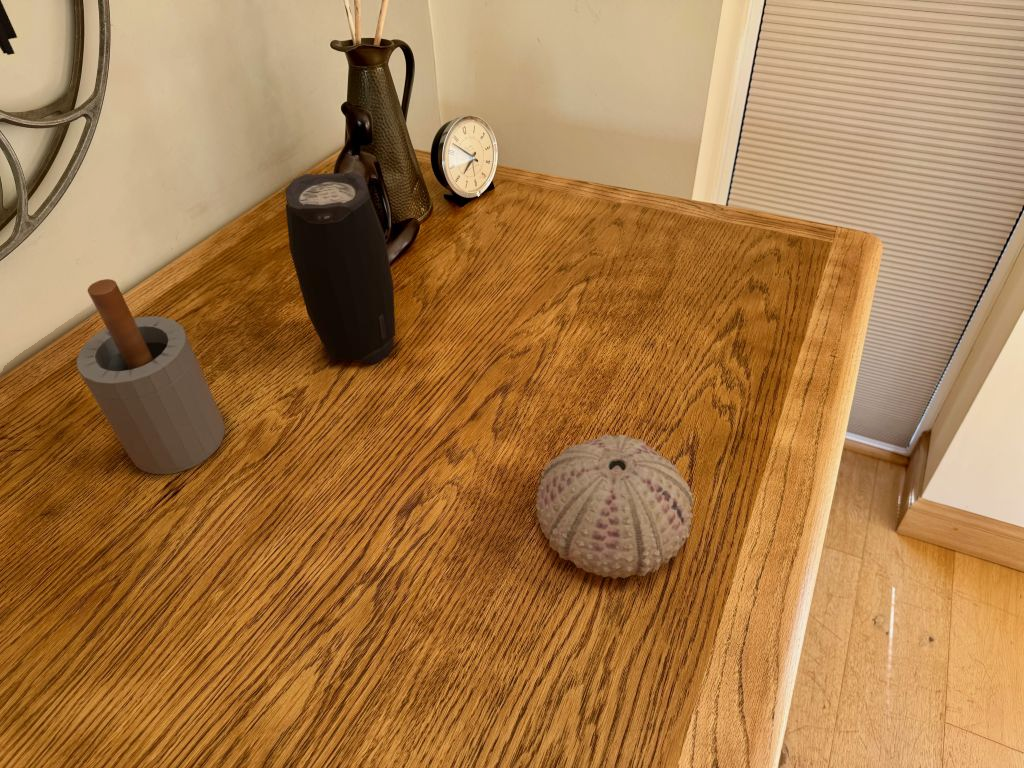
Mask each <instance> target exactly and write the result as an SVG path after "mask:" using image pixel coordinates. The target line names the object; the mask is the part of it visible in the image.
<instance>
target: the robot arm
mask: <svg viewBox="0 0 1024 768" xmlns="http://www.w3.org/2000/svg"><path fill="white" fill-rule="evenodd" d="M4 6H5V5H4V4H3V1H2V0H0V50H1V51H2V53H3V54H4V55H5V54H6V55H7V56H10V55H14V54H16V53H15V51H14V49H13V47H12V43H11V42H10V40H13V39H17V38H18V36H17V33H16V30H15V28H14V27H13V24H12V22H11V19H10V17H9V15H8V13H7V11H6V9H5V7H4Z"/></svg>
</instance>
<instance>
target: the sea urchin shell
mask: <svg viewBox="0 0 1024 768" xmlns="http://www.w3.org/2000/svg"><path fill="white" fill-rule="evenodd" d="M543 469H544V470H543V471H541V472H540V474H541V479H540V484H539V485H538V488H537V489H538V492H537V493H536V494H535V496H536V497H537V498H536V499H535V503H536V504H535V506H534V507H535V509H536V510H537V512H536V517H537V518H538V519H537V520H538V522H539V524H540V525H539V527H540V529H541V533H543V534H544V537H545V538H546V539H548V540H549V547H550V548H552V551H555V552H557V553H558V555H559V559H563V560H566V561H571V562H572V563H573V564H574V565H575V567H576V568H577V569H582V570H583V571H584V572H586V573H593V574H594V575H596V576H598V577H599V576H602V577H604V578H607V577H610V578H612V579H613V580H616V579H618V578H622V579H625V578H628V577H630V576H638V577H645V576H646V575H647V574H648V573H651V574H653V573H655V572H656V571H658V570H659V568H660V567H661V565H662V564H668V563H669V561H670V559H671V558H674V557H677V555H678V553H679V550H680V548H682V547H683V546H684V544H685V543H686V540H687V539H688V538H689V537H690V535H689V532H690V531H691V530H692V529H691V525H692V518H693V514H692V512H691V511H692V509H693V504H694V503H695V499H694V497H693V495H694V493H693V492H691V491H690V490H691V487H690V485H689V483H688V482H687V481H685V478H684V477H683V476H681V474H680V470H679V469H677V468H676V465H675V464H672V462H671V460H669V459H667V458H665V457H664V456H663V455H662V454H661V453H659V452H658V451H656V450H655V449H653V448H652V447H651V446H649V445H648V444H647V443H645V442H644V440H643V438H642V439H640V438H637V439H635V438H633V437H631V436H629V435H625V434H614V435H610V434H607V433H605V434H602V435H601V436H599V437H595V438H592V439H588V440H586V441H583V442H580V443H578V444H573V445H569V446H568V448H564V450H563V452H561V454H559V455H558V456H556V457H554V458H552V459H551V460H550V461H548V462H547V463H546V466H545V467H544V468H543Z"/></svg>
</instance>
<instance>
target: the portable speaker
mask: <svg viewBox="0 0 1024 768" xmlns="http://www.w3.org/2000/svg"><path fill="white" fill-rule="evenodd" d="M369 190H370V189H369V184H368V183H367V181H366V179H365V177H364V176H363V175H361V174H359V173H357V172H355V171H349V172H341V173H338V172H337V173H336V172H335V173H320V174H318V173H317V174H311V173H309V174H308V173H305V174H303V175H301V176H298V177H296V178H294V179H292V180H291V182H290V183H289V184H288V185H287V187H285V199H286V203H285V212H286V222H287V233H288V245H289V251H290V256H291V259H292V262H293V266H294V270H295V273H296V277H297V281H298V283H299V288H300V291H301V295H302V299H303V303H304V306H305V309H306V312H307V315H308V318H309V321H310V322H311V324H312V326H313V328H314V330H315V332H316V334H317V336H318V338H319V341H320V343H321V344H322V345H323V348H324V351H325V354H326V355H327V356H328V358H329V359H330V360H331V362H333V363H337V362H340V361H346V362H347V361H351V362H362V363H364V364H365V365H367V366H369V365H376V364H378V363H380V362H381V361H382V360H384V359H385V358H387V357H388V356H389V355H390V353H391V352H392V350H393V348H394V337H395V336H396V318H395V317H396V316H395V296H394V295H395V293H394V280H393V275H392V270H391V264H390V257H389V253H388V246H387V242H386V235H385V232H384V229H383V227H382V224H381V221H380V219H379V217H378V214H377V211H376V209H375V206H374V203H373V200H372V199H371V195H370V191H369Z"/></svg>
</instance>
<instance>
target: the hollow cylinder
mask: <svg viewBox="0 0 1024 768" xmlns="http://www.w3.org/2000/svg"><path fill="white" fill-rule="evenodd" d="M133 318H134V320H135V322H136V324H137V326H138V328H139V331H140V333H141V335H142V337H143V339H144V341H145V343H146V345H147V347H148V349H149V351H150V353H151V355H152V357H153V359H154V360H153V361H151V362H150V363H148V364H146V365H144V366H141V367H138V368H135V369H132V370H129V369H128V367H127V365H126V363H125V362H124V360H123V358H122V356H121V354H120V352H119V350H118V348H117V346H116V344H115V343H114V341H113V339H112V337H111V335H110V333H109V331H108V329H107V327H106V328H104V329H102V330H100V331H99V332H98V333H96V334H95V335H93V336H92V337H90V338H89V339H88V340H87V341H86V343H85V344H84V345H83V346H82V347H81V348H80V350H79V353H78V355H77V358H76V368H77V371H78V373H79V375H80V376H81V378H82V380H83V382H84V384H85V385H86V387H87V389H88V390H89V391H90V393H91V395H92V396H93V398H94V400H95V402H96V403H97V405H98V407H99V409H100V410H101V412H102V414H103V415H104V417H105V418H106V420H107V422H108V423H109V425H110V427H111V429H112V430H113V432H114V434H115V435H116V437H117V438H118V440H119V443H120V444H121V446H122V447H123V449H124V450H125V452H126V454H127V456H128V457H129V459H130V460H131V461H132V463H133V464H134V465H135V467H137V468H138V469H139V470H141V471H143V472H145V473H148V474H153V475H171V474H176V473H177V474H178V473H180V472H181V473H182V472H184V471H187V470H189V469H192V468H194V467H197V466H198V465H200V464H201V463H203V462H205V461H206V460H208V458H210V457H211V456H212V455H213V454H214V453H215V452H216V451H217V450H218V448H219V447H220V446H221V444H222V442H223V440H224V437H225V433H226V424H225V421H224V419H223V417H222V414H221V412H220V409H219V407H218V404H217V402H216V400H215V398H214V395H213V393H212V391H211V388H210V386H209V384H208V381H207V379H206V376H205V375H204V372H203V370H202V368H201V365H200V363H199V361H198V358H197V356H196V354H195V351H194V349H193V347H192V344H191V343H190V340H189V338H188V336H187V333H186V331H185V328H184V327H183V326H182V325H180V324H179V322H177V320H174V319H171V318H168V317H165V316H156V315H155V316H154V315H150V316H140V317H133Z"/></svg>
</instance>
